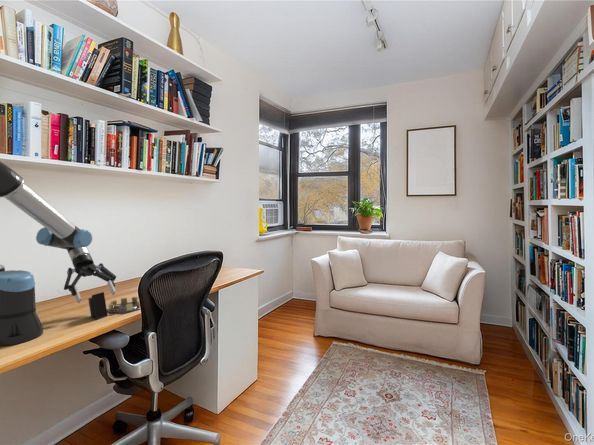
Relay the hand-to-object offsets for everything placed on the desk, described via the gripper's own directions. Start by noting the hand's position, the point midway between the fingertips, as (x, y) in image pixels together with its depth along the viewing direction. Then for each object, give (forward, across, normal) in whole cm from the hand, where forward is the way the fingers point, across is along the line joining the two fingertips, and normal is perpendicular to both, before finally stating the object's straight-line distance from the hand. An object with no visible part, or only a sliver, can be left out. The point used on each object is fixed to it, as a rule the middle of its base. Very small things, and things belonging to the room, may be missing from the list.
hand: (97, 297), depth 140 cm
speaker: (+8, +2, -4) cm, 8 cm away
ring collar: (+6, -11, -4) cm, 14 cm away
